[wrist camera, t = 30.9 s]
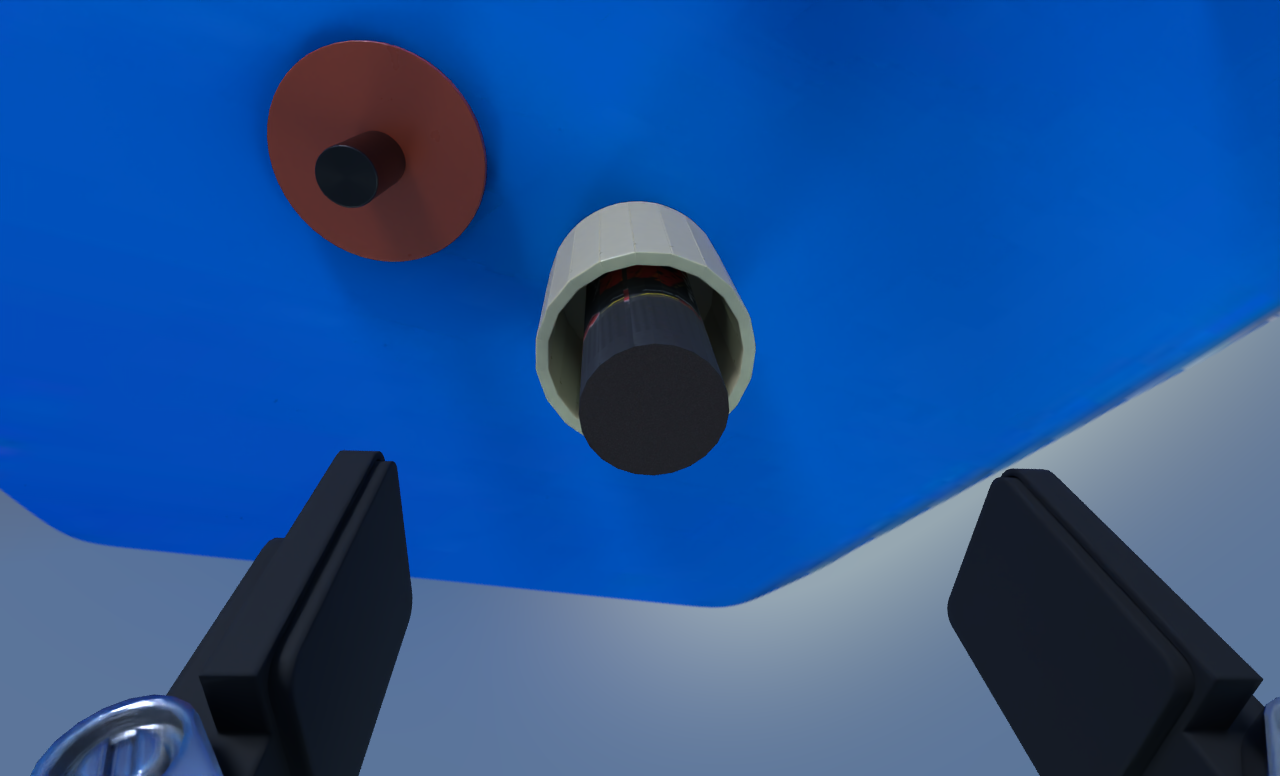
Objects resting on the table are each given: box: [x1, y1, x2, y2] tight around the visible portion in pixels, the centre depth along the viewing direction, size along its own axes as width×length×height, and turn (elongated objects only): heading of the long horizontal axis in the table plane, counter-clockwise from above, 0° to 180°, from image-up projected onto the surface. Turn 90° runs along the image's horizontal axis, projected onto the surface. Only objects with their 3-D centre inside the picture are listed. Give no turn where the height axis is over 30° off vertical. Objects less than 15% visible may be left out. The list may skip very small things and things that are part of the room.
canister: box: [536, 202, 756, 435], centre depth 36 cm, size 10×10×10 cm
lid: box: [267, 40, 487, 262], centre depth 34 cm, size 11×11×6 cm
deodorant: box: [579, 265, 729, 475], centre depth 33 cm, size 6×6×15 cm
